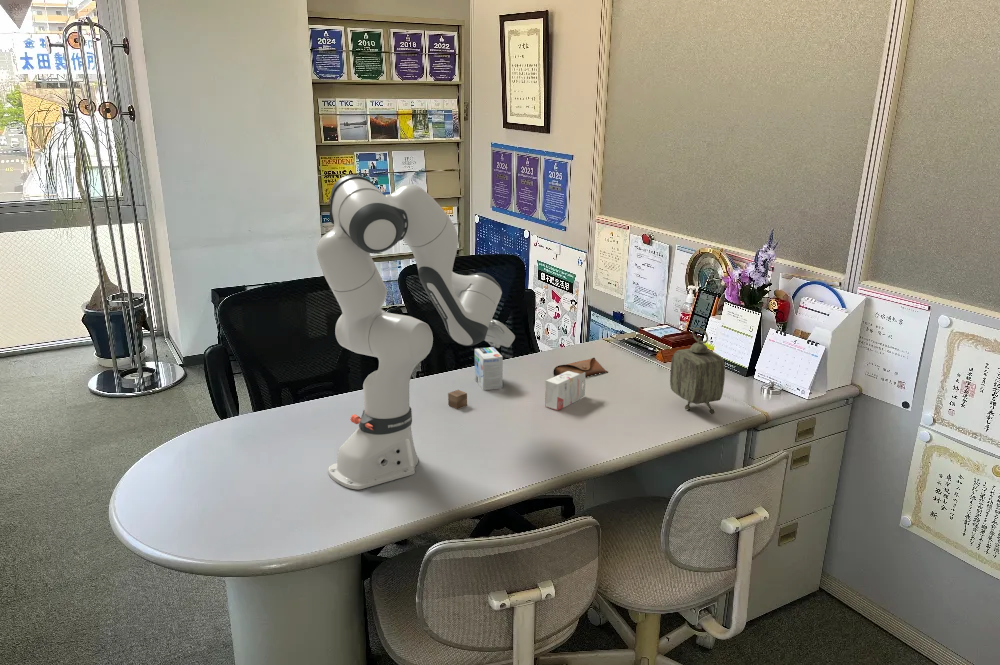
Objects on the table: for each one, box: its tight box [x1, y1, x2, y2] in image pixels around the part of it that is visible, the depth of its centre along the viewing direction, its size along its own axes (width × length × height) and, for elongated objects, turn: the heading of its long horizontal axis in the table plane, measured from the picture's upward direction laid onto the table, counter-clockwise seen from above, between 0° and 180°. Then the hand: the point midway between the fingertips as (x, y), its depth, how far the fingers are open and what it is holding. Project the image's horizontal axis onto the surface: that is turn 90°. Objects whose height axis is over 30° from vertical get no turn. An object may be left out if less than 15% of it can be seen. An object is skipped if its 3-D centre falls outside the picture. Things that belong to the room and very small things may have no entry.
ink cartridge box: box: [544, 371, 586, 411], centre depth 219 cm, size 9×5×15 cm
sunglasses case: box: [552, 357, 608, 378], centre depth 243 cm, size 18×7×7 cm
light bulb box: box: [474, 346, 504, 391], centre depth 233 cm, size 11×7×11 cm, turn 17°
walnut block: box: [447, 389, 468, 410], centre depth 216 cm, size 4×4×4 cm
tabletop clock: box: [669, 327, 726, 415], centre depth 211 cm, size 14×9×25 cm, turn 22°
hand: (496, 344), depth 199 cm, fingers closed
